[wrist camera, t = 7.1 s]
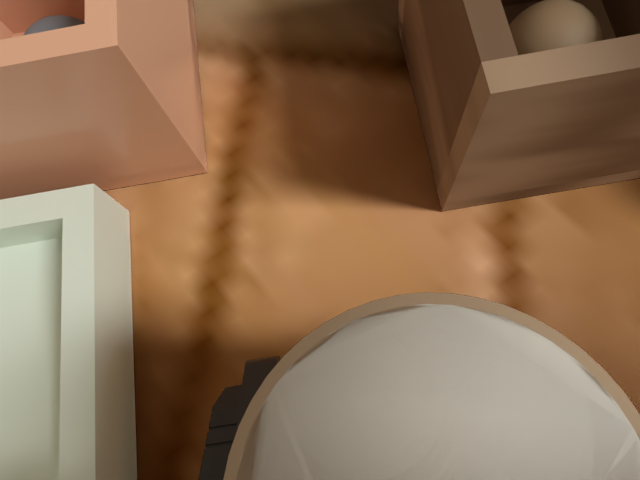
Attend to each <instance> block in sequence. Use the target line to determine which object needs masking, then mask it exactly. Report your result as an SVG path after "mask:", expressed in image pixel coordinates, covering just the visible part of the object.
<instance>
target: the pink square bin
mask: <svg viewBox="0 0 640 480" xmlns="http://www.w3.org/2000/svg"><path fill="white" fill-rule="evenodd" d="M54 15H64V16H70V17H74V18H77V19H80V20H82V21H84V22H85V24H81V25H76V26H71V27H65V28H60V29H55V30H49V31H44V32H39V33H33V34H28V35H24V33H25V32H26V30H27V29H28V28H29V27H30V26H31V25H32V24H33V23H35V22H36V21H38V20H40V19H42V18H45V17H48V16H54ZM202 173H208V171H207V159H206V147H205V135H204V123H203V112H202V100H201V88H200V76H199V64H198V52H197V41H196V29H195V17H194V5H193V0H0V200H2V199H7V198H13V197H19V196H25V195H30V194H36V193H42V192H47V191H53V190H59V189H65V188H70V187H76V186H82V185H87V184H93V183H94V184H95V185H96V186H98V187H99V188H100V189H101V190H103V191H105V190H111V189H116V188H122V187H128V186H133V185H139V184H145V183H151V182H156V181H162V180H168V179H174V178H179V177H185V176H191V175H197V174H202Z"/></svg>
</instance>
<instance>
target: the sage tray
mask: <svg viewBox="0 0 640 480" xmlns="http://www.w3.org/2000/svg"><path fill="white" fill-rule="evenodd" d="M0 480H137V453H136V420H135V386H134V353H133V319H132V286H131V252H130V219H129V211H128V210H127V209H126V208H124V207H123V206H122V205H121V204H119V203H118V202H117V201H115V200H114V199H113V198H112V197H110V196H109V195H108V194H107V193H105V192H104V191H103V190H101V189H100V188H99V187H98V186H96V185H95V184H94V183H93V184H87V185H82V186H76V187H70V188H65V189H59V190H53V191H47V192H42V193H36V194H30V195H25V196H19V197H13V198H7V199H2V200H0Z"/></svg>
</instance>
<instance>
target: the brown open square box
mask: <svg viewBox="0 0 640 480" xmlns="http://www.w3.org/2000/svg"><path fill="white" fill-rule="evenodd" d="M541 1H544V0H399V6H398V17H397V26H398V30H399V34H400V38H401V42H402V47H403V51H404V55H405V59H406V63H407V67H408V72H409V76H410V80H411V84H412V88H413V92H414V97H415V101H416V105H417V109H418V113H419V118H420V122H421V126H422V130H423V134H424V138H425V143H426V147H427V151H428V155H429V159H430V164H431V168H432V172H433V176H434V180H435V184H436V189H437V193H438V197H439V201H440V205H441V209H442V211H447V210H453V209H459V208H465V207H471V206H477V205H483V204H489V203H495V202H501V201H507V200H513V199H519V198H525V197H531V196H537V195H543V194H549V193H555V192H560V191H566V190H572V189H578V188H584V187H590V186H596V185H602V184H608V183H614V182H620V181H626V180H632V179H638V178H640V0H573V1H576V2H578V3H580V4H582V5H584V6H585V7H586V8H588V9H589V10H590V11H591V12H592V13H593V15H594V16H595V17H596V19H597V21H598V23H599V25H600V28H601V31H602V39H603V40H602V41H596V42H591V43H585V44H580V45H574V46H568V47H563V48H557V49H552V50H546V51H540V52H535V53H529V54H524V55H518V52H517V49H516V46H515V43H514V40H513V37H512V34H511V30H510V27H509V25H510V24H511V22H512V21H513V20H514V19H515V18H516V17H517V16H518V15H519V14H520V13H521V12H522V11H524V10H525V9H527V8H528V7H530V6H532V5H534V4H536V3H538V2H541Z"/></svg>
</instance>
